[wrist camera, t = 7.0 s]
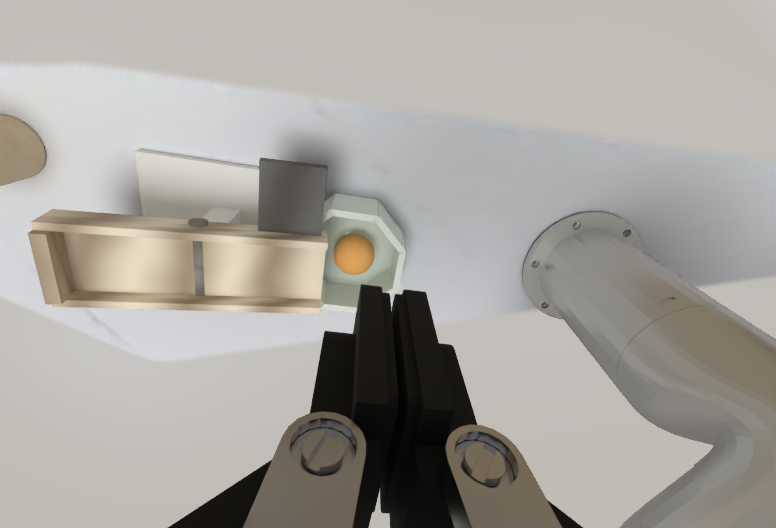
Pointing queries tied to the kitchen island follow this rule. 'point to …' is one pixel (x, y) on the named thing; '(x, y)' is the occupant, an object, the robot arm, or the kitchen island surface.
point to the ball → (353, 254)
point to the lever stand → (197, 188)
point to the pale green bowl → (383, 234)
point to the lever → (193, 253)
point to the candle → (19, 151)
